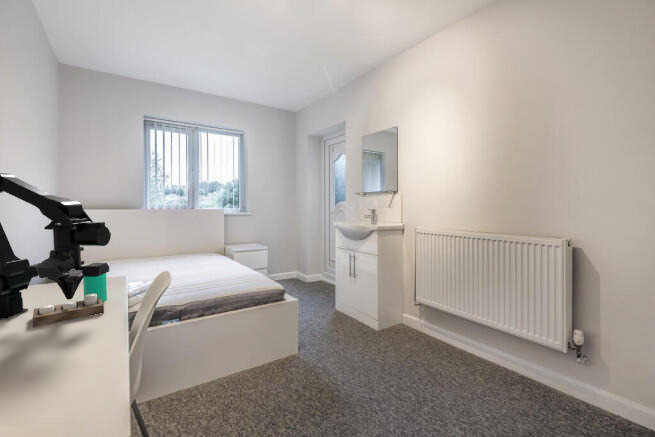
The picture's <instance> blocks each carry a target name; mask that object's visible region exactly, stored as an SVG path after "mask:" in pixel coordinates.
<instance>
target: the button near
mask: <svg viewBox="0 0 655 437" xmlns="http://www.w3.org/2000/svg"><path fill="white" fill-rule="evenodd" d="M54 305H55V304H54ZM54 305H53V304H51V305H50V304H48V305H44V306H40V307H38V308H39V314H44V313H50V312H54Z"/></svg>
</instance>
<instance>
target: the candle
mask: <svg viewBox="0 0 655 437" xmlns="http://www.w3.org/2000/svg"><path fill="white" fill-rule="evenodd" d="M82 281H83V282H82V284H83V297H84V296H85V295H88V294H97V298H101V300H102V302H103V303H104V302H106V301H107V300H108V292H107V291H108V289H107V284H108V283H107V273H105V274H102V275H100V276H96V277H85V276H84V278H83V279H82Z"/></svg>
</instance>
